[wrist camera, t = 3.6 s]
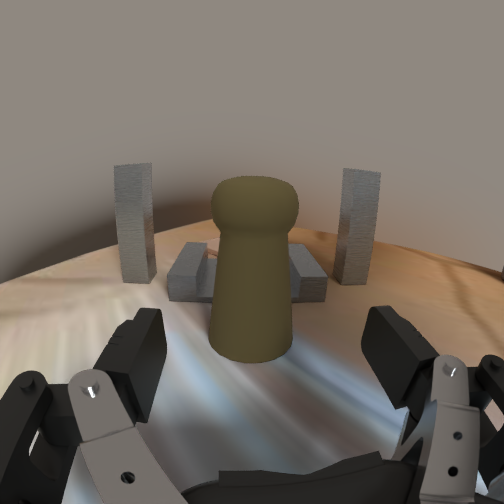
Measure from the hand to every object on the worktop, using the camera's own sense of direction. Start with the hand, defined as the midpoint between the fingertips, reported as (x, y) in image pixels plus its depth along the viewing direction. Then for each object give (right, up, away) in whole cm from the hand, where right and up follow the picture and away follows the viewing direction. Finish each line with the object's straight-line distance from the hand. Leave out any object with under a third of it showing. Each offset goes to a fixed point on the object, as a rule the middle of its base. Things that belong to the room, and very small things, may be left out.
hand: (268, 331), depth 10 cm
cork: (-1, -3, +9) cm, 10 cm away
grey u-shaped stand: (-1, 0, +19) cm, 19 cm away
